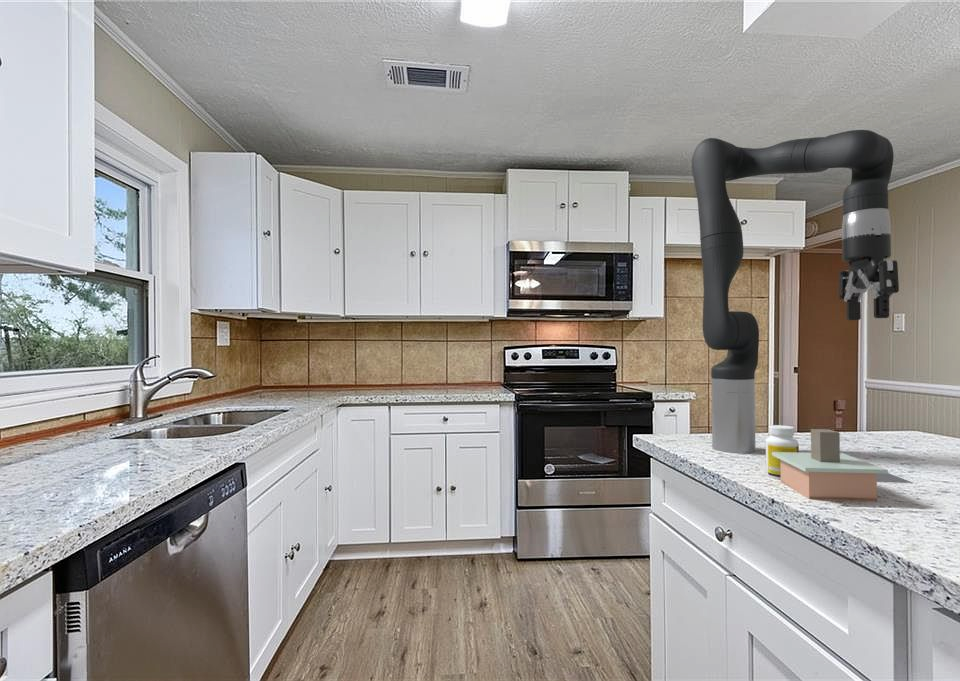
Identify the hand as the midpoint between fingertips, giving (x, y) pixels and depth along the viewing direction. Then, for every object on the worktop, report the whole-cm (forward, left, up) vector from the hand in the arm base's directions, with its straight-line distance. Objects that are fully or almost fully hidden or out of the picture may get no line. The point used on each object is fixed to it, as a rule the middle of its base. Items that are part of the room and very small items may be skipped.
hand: (867, 319), depth 97 cm
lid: (+14, -15, -25) cm, 32 cm away
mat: (+1, -3, -30) cm, 30 cm away
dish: (+14, -15, -30) cm, 36 cm away
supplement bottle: (+5, -18, -30) cm, 35 cm away
